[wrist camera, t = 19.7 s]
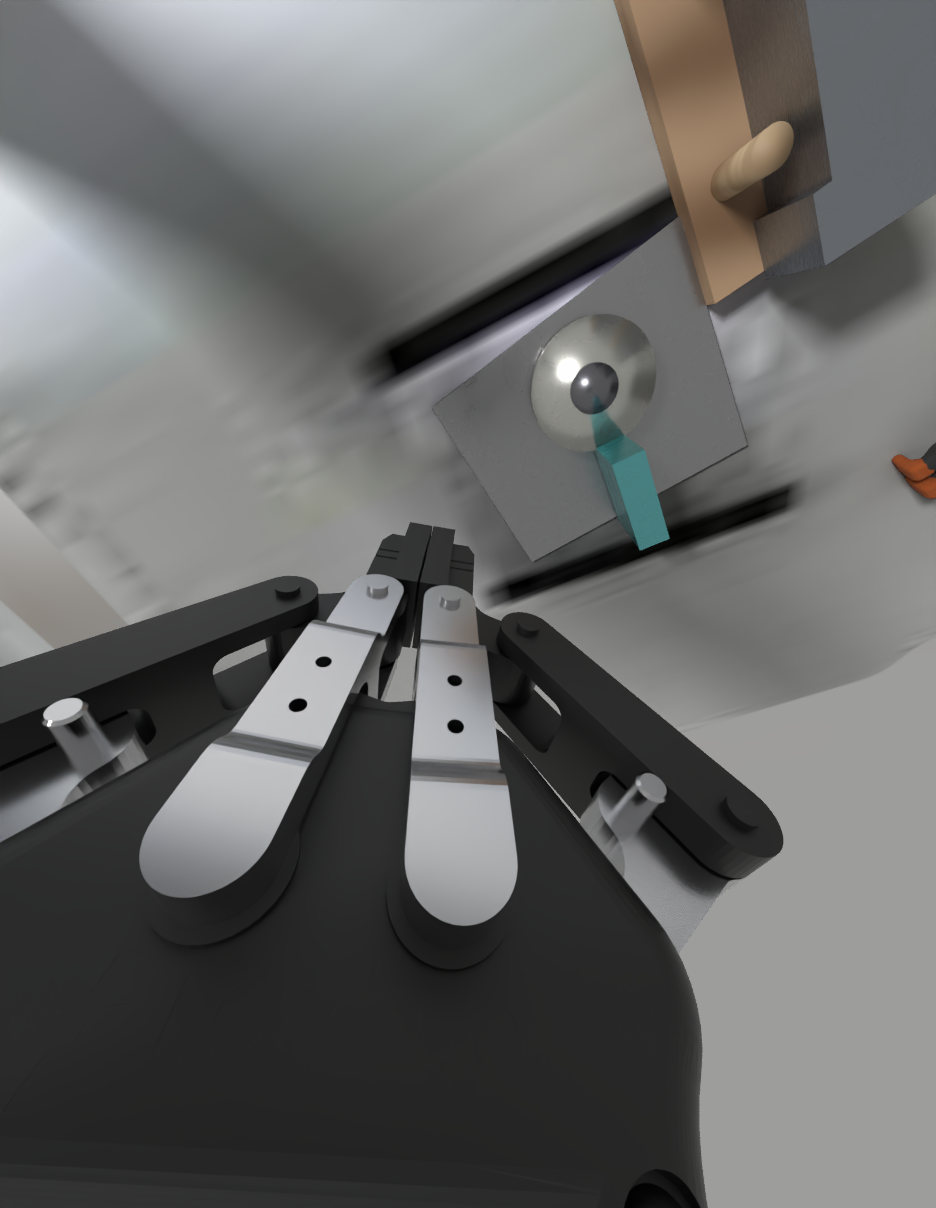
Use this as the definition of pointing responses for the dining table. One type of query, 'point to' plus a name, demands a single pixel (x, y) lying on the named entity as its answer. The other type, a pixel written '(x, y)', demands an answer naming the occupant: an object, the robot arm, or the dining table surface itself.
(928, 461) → the figurine
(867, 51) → the bar
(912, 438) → the dining table surface
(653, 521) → the teal handled round piece
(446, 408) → the gray base plate
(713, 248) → the peg rack
